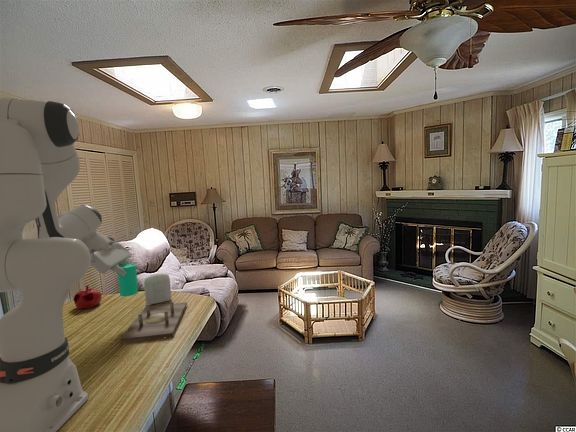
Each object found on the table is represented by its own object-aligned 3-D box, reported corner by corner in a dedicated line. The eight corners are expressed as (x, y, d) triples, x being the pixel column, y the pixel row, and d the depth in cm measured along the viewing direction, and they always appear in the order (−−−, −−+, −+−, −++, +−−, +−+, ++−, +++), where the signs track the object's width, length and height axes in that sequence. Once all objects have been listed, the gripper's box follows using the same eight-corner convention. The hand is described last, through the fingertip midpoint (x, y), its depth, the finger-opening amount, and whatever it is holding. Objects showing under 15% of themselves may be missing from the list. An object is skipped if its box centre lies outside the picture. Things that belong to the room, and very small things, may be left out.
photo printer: (170, 297, 134) (167, 270, 132) (172, 300, 130) (170, 272, 129) (145, 303, 128) (142, 275, 127) (146, 306, 125) (143, 278, 123)
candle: (131, 296, 107) (128, 263, 106) (116, 296, 108) (113, 264, 107) (141, 290, 113) (138, 259, 112) (126, 290, 114) (124, 259, 113)
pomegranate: (85, 302, 134) (83, 282, 133) (107, 301, 133) (105, 281, 132) (68, 311, 124) (65, 289, 123) (91, 310, 123) (89, 288, 123)
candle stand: (172, 337, 98) (171, 321, 97) (120, 343, 95) (118, 327, 95) (186, 305, 123) (185, 293, 123) (146, 310, 121) (144, 297, 120)
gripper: (88, 246, 97) (123, 273, 100) (115, 236, 117) (144, 259, 120) (75, 261, 97) (110, 287, 99) (104, 248, 117) (133, 270, 119)
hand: (129, 271), depth 110 cm, fingers closed on candle, 5 cm apart
